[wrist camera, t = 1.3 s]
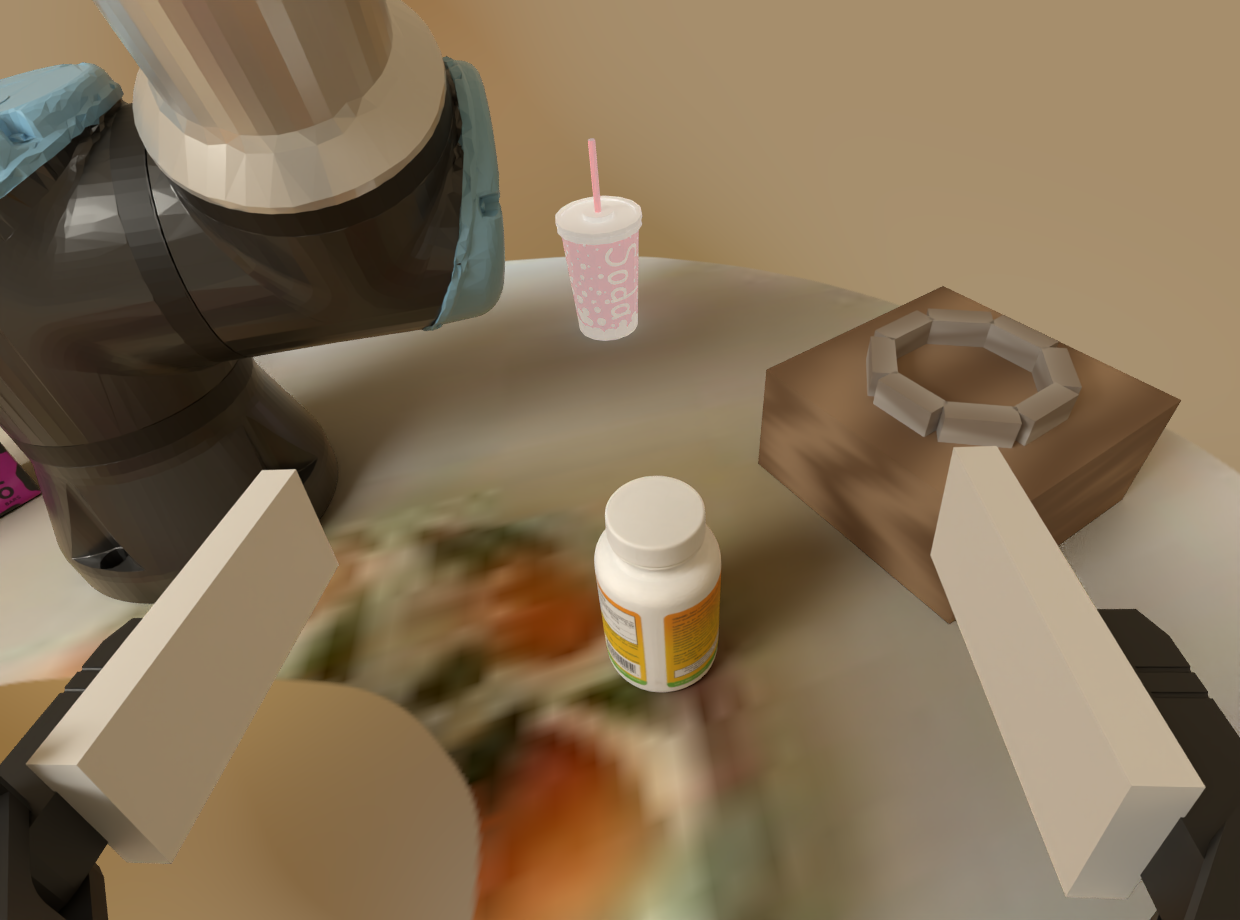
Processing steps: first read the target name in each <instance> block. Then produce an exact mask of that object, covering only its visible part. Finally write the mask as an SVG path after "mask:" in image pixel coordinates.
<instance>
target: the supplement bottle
mask: <svg viewBox="0 0 1240 920" xmlns="http://www.w3.org/2000/svg"><path fill="white" fill-rule="evenodd" d="M605 522H606V529H605V530H604V532H603V533H602V535H601V536H600V538H599V540H598V543H597V546H596V550H595V558H594V562H595V574H596V580H597V586H598V593H599V599H600V606H601V613H602V619H603V626H604V632H605V639H606V645H607V649H608V653H609V657H610V659H611V662H612V664H613V666H614V667H615V669H616V670H617V672H618V673H619V674H620V675H621V676H622V677H623V678H624V679H625V680H627V681H628V682H629V683H631V684H633V685H634V686H636V687H638V688H641V689H644V690H647V691H652V692H671V691H676V690H680V689H683V688H686V687H688V686H690V685H692V684H694V683H695V682H697V681H698V680H699V679H701V678H702V677H703V676H704V675H705V674H706V673H707V671H708V670H709V669H710V667H711V665H712V663H713V661H714V659H715V656H716V652H717V646H718V636H719V610H720V590H721V553H720V548H719V545H718V542H717V540H716V538H715V536H714V534H713V532H712V531H711V530H710V528H709V527H708V526H707V525H706V518H705V506H704V503H703V500H702V498H701V497H700V495H699V494H698V492H697V491H696V490H695V489H694V488H692V487H691V486H690V485H688V484H687V483H685V482H683V481H681V480H678V479H675V478H671V477H666V476H647V477H642V478H638V479H635V480H632V481H630V482H628V483H626V484H624V485H623V486H621V487H620V488H619V489H618V490H616V491H615V492H614V493H613V495H612V496H611V497H610V499H609V501H608V503H607V506H606V510H605Z"/></svg>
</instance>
